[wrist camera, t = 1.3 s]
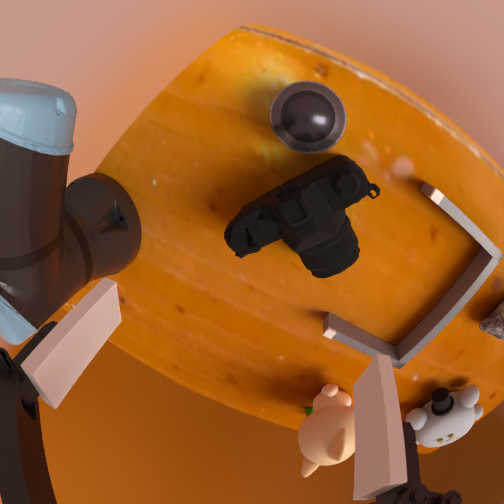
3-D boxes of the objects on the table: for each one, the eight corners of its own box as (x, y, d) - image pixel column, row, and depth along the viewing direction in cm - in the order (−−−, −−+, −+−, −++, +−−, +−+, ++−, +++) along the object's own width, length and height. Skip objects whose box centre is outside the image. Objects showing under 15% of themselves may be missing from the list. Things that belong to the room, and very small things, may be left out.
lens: (267, 130, 27) (255, 131, 21) (295, 78, 24) (289, 66, 18) (322, 159, 27) (324, 169, 22) (351, 108, 24) (361, 104, 18)
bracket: (323, 317, 35) (323, 335, 32) (424, 181, 25) (436, 188, 22) (396, 354, 36) (399, 371, 33) (492, 245, 25) (505, 256, 22)
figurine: (478, 409, 38) (475, 356, 35) (485, 436, 30) (489, 388, 27) (412, 437, 45) (393, 393, 42) (413, 465, 38) (396, 428, 34)
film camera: (273, 274, 34) (258, 320, 27) (231, 206, 32) (201, 237, 24) (388, 223, 28) (411, 261, 20) (352, 143, 26) (367, 152, 18)
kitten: (331, 420, 46) (325, 486, 33) (287, 407, 46) (273, 476, 33) (379, 381, 39) (384, 460, 26) (329, 364, 39) (323, 451, 26)
